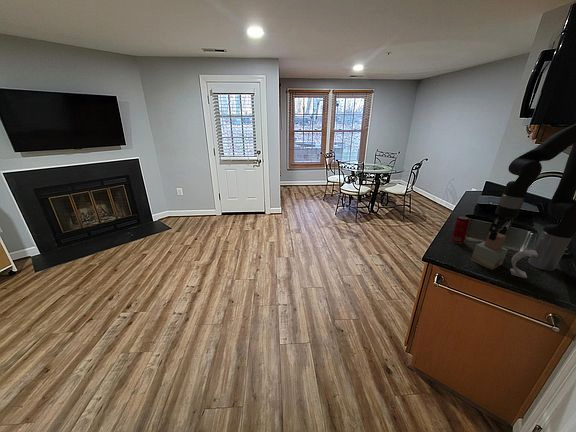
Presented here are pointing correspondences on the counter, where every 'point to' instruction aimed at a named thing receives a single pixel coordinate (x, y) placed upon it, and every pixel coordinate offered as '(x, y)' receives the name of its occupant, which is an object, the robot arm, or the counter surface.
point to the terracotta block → (495, 241)
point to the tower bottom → (486, 261)
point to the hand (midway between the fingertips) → (496, 237)
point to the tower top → (490, 252)
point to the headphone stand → (518, 256)
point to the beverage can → (460, 229)
